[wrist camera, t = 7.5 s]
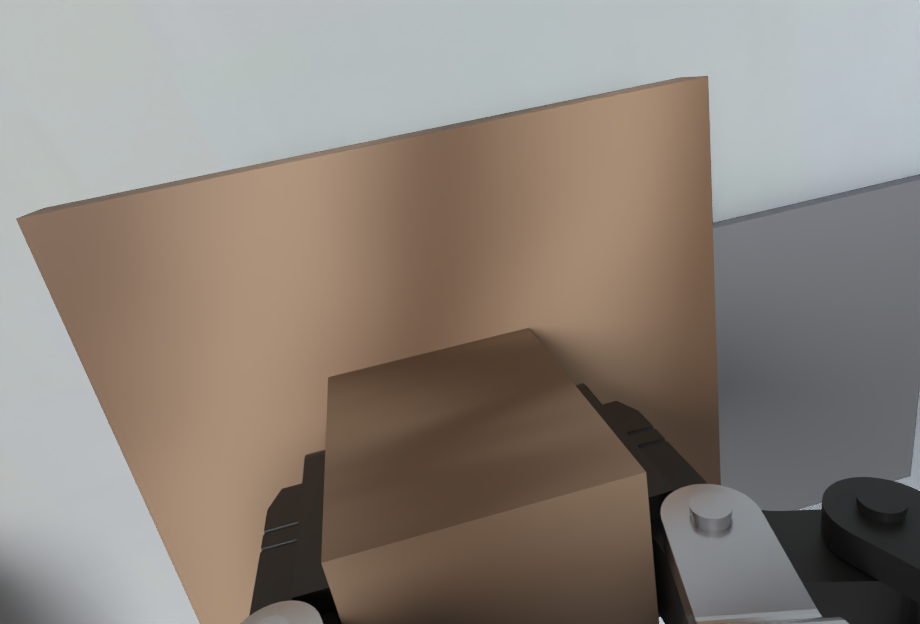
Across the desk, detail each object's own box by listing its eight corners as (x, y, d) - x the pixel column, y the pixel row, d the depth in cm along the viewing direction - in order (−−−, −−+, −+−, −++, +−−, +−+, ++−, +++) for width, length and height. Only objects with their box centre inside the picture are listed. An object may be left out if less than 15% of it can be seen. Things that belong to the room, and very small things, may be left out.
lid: (679, 77, 12) (972, 63, 6) (702, 550, 16) (889, 785, 11) (44, 208, 11) (-274, 329, 5) (251, 685, 15) (200, 1031, 9)
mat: (927, 172, 24) (941, 174, 23) (899, 468, 29) (910, 475, 28) (588, 252, 22) (595, 256, 22) (621, 550, 27) (627, 560, 27)
